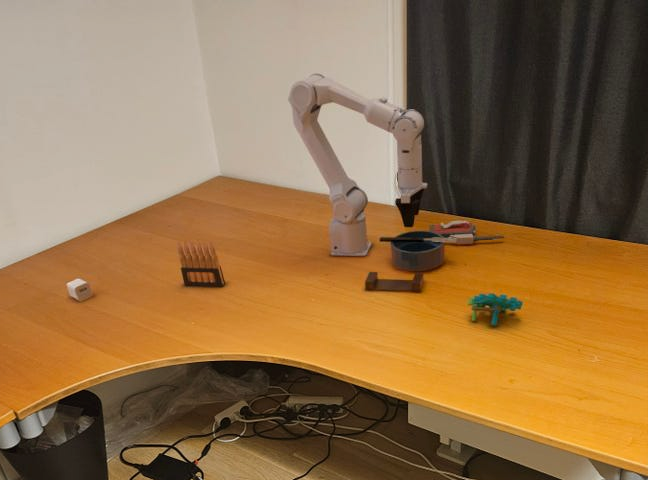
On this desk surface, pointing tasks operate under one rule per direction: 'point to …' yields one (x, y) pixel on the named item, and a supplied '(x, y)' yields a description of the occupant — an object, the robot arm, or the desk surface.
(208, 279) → the ammunition clip
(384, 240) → the fork
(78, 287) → the usb wall charger
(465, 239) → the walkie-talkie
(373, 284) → the cutlery rest
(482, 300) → the teal knobby toy
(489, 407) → the desk surface
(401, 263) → the bowl
